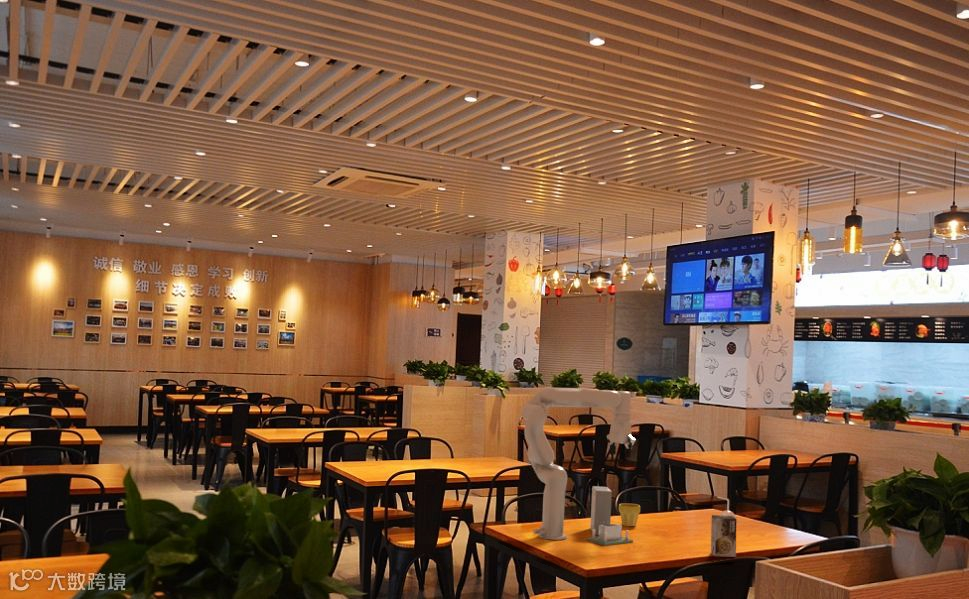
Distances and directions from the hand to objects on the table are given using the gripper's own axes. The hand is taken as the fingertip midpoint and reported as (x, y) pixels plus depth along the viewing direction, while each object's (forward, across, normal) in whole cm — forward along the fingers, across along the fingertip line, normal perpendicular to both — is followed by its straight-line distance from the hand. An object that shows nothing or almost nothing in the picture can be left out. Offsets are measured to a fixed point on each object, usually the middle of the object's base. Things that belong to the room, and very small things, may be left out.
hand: (620, 455), depth 391 cm
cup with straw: (+36, +28, +42) cm, 62 cm away
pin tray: (+36, +7, -11) cm, 39 cm away
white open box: (+35, +7, -11) cm, 38 cm away
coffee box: (+36, +46, +17) cm, 61 cm away
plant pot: (+36, -16, +24) cm, 47 cm away
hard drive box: (+37, -10, -1) cm, 38 cm away
